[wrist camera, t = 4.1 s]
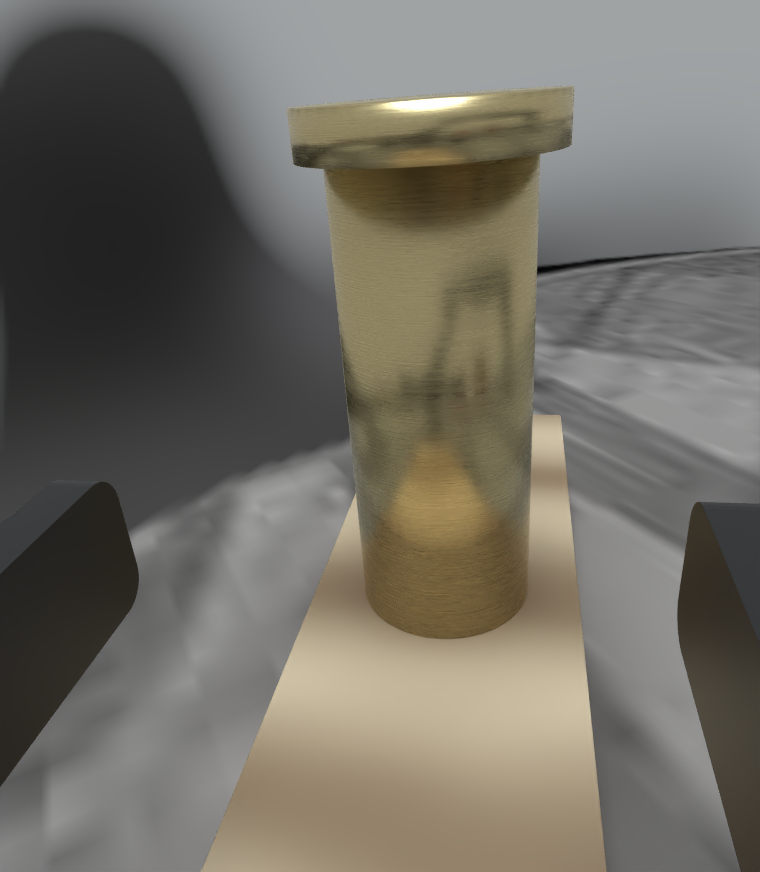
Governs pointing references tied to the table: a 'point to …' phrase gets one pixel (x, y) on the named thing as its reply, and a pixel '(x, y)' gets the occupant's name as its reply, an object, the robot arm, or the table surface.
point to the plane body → (429, 728)
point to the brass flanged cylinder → (438, 338)
